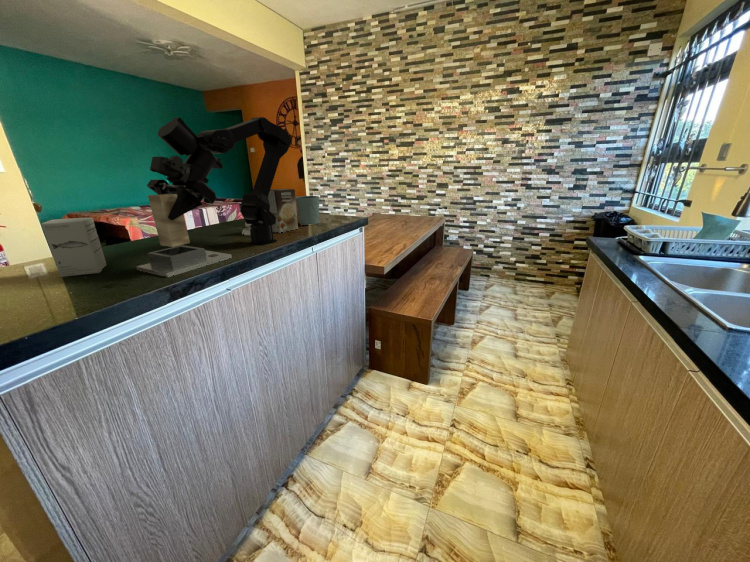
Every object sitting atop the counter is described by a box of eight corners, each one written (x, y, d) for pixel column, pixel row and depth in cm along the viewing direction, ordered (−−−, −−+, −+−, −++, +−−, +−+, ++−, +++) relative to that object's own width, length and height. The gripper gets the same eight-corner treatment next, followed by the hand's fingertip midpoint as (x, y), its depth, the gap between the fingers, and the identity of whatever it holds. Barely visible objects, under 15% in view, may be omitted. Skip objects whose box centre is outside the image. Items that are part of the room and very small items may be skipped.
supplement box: (59, 278, 71) (38, 223, 66) (71, 269, 77) (52, 218, 72) (100, 273, 74) (82, 220, 69) (108, 265, 80) (92, 216, 76)
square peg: (178, 241, 80) (167, 193, 76) (190, 242, 78) (179, 194, 74) (160, 245, 76) (147, 195, 72) (172, 247, 75) (159, 196, 70)
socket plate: (202, 253, 91) (200, 239, 90) (231, 257, 86) (229, 243, 85) (137, 270, 76) (132, 254, 74) (167, 277, 71) (163, 260, 70)
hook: (225, 223, 111) (231, 209, 115) (245, 244, 120) (250, 231, 124) (242, 219, 109) (248, 205, 113) (262, 241, 118) (266, 228, 122)
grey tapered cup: (325, 223, 139) (323, 196, 135) (312, 227, 131) (310, 198, 126) (306, 221, 143) (304, 195, 139) (293, 225, 135) (290, 197, 130)
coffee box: (280, 233, 118) (275, 190, 113) (270, 231, 122) (264, 189, 116) (298, 229, 125) (295, 188, 120) (288, 228, 129) (284, 188, 123)
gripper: (145, 145, 76) (107, 194, 71) (194, 142, 69) (156, 197, 63) (182, 177, 86) (151, 223, 80) (230, 178, 78) (199, 229, 73)
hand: (163, 218), depth 74 cm, fingers closed on square peg, 5 cm apart
